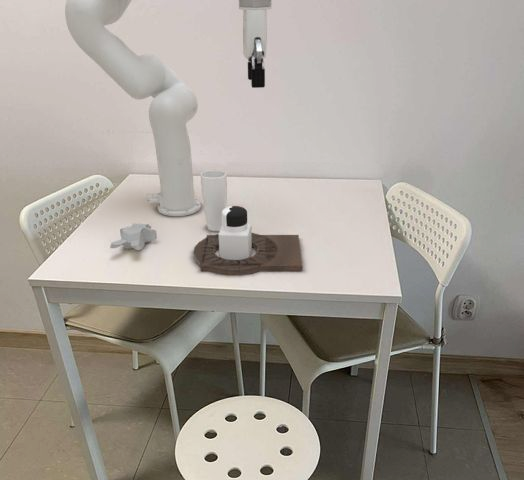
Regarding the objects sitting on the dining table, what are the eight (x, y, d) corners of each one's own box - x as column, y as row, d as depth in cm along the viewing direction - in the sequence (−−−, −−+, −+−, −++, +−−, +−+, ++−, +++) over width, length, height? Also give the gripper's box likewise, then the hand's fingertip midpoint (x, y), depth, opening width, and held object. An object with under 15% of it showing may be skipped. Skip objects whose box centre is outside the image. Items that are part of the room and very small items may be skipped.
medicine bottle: (251, 249, 137) (251, 203, 129) (248, 262, 131) (247, 215, 124) (224, 248, 137) (221, 202, 130) (219, 260, 131) (216, 214, 124)
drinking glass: (232, 225, 148) (230, 170, 139) (223, 234, 143) (220, 179, 134) (210, 221, 150) (206, 168, 141) (200, 231, 145) (195, 176, 136)
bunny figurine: (160, 220, 141) (142, 238, 128) (162, 239, 144) (144, 258, 131) (126, 218, 142) (104, 236, 129) (128, 237, 145) (107, 256, 132)
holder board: (189, 275, 126) (189, 269, 125) (198, 237, 142) (198, 231, 141) (302, 275, 126) (302, 269, 125) (297, 236, 142) (298, 231, 141)
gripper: (236, -2, 129) (238, 77, 140) (241, 4, 116) (243, 91, 126) (267, -2, 130) (267, 76, 140) (276, 4, 116) (275, 90, 127)
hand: (256, 83), depth 133 cm, fingers open, 9 cm apart
